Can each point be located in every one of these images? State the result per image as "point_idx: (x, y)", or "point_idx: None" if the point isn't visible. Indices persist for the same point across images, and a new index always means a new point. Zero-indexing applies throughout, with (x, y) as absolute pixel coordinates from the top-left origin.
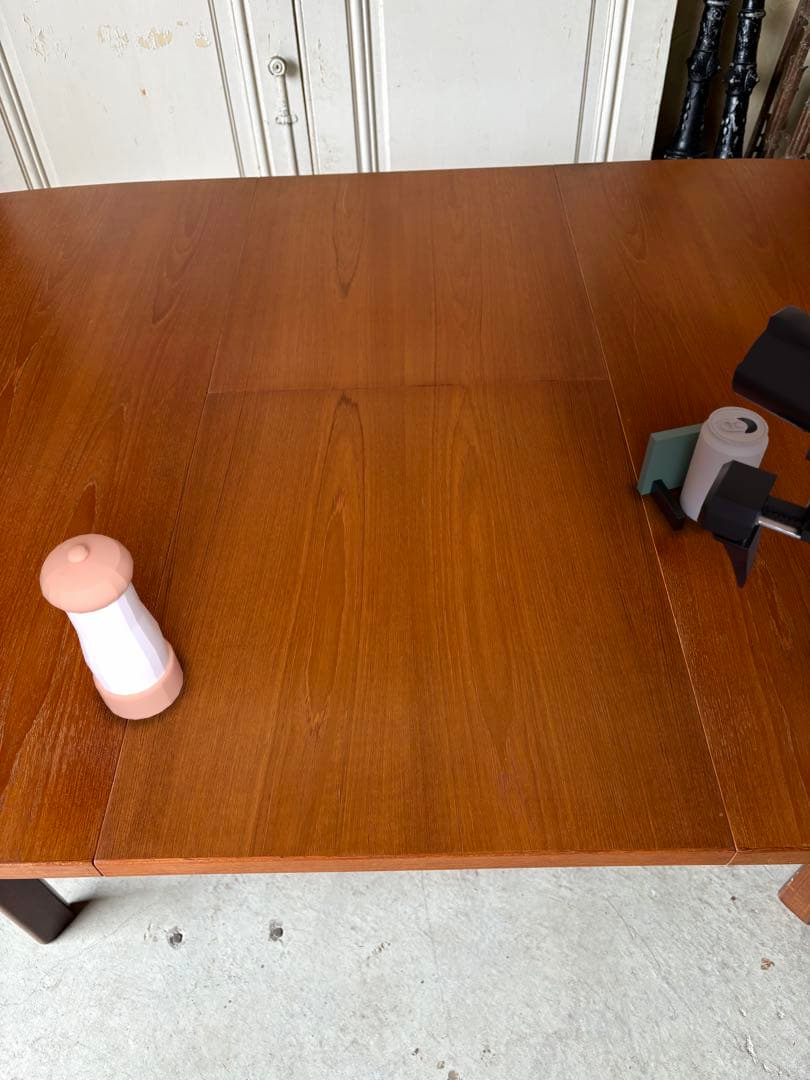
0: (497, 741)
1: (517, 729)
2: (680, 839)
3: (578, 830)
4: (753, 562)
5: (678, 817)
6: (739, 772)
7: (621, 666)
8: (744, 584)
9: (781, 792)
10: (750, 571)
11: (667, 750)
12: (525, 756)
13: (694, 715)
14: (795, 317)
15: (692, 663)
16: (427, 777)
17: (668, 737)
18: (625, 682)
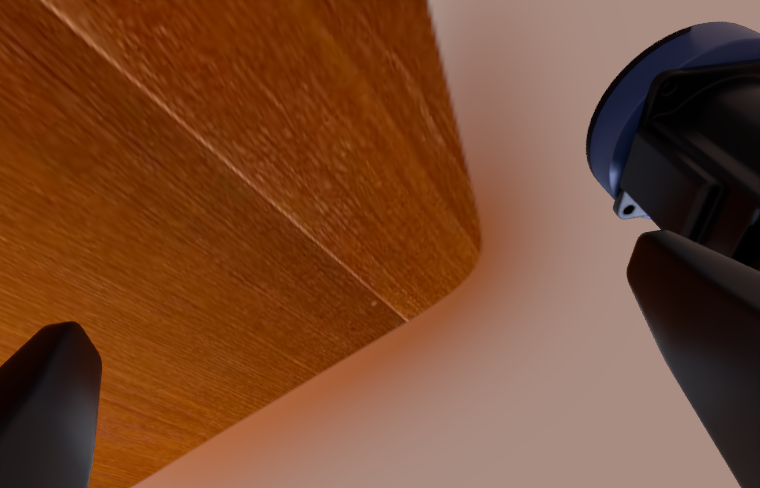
0: None
1: None
2: (341, 354)
3: (225, 413)
4: (8, 447)
5: (324, 337)
6: (372, 237)
7: (34, 188)
8: (95, 426)
9: (446, 225)
10: (52, 426)
11: (248, 275)
12: None
13: (245, 193)
14: None
15: (151, 74)
16: None
17: (234, 257)
18: (78, 215)
